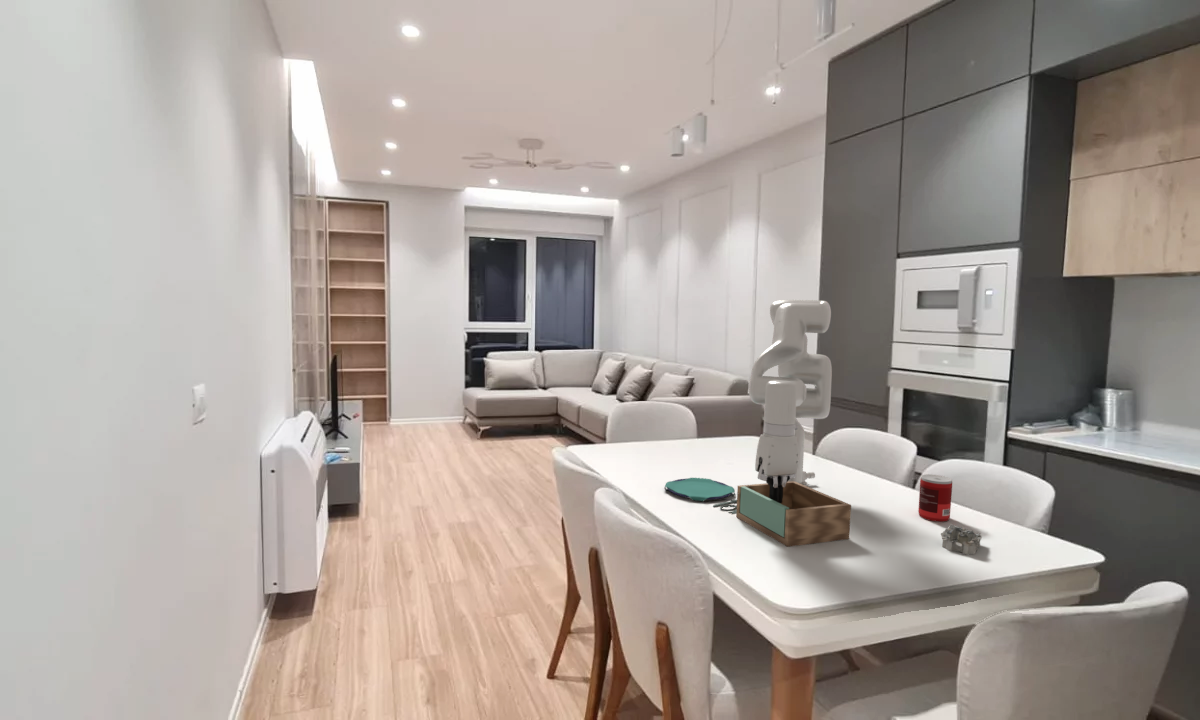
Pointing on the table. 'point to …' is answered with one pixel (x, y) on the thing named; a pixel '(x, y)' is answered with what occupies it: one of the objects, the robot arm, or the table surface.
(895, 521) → the table surface
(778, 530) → the panel
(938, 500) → the canned food
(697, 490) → the teal flat rounded piece
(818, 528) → the crate
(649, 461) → the table surface
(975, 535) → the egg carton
